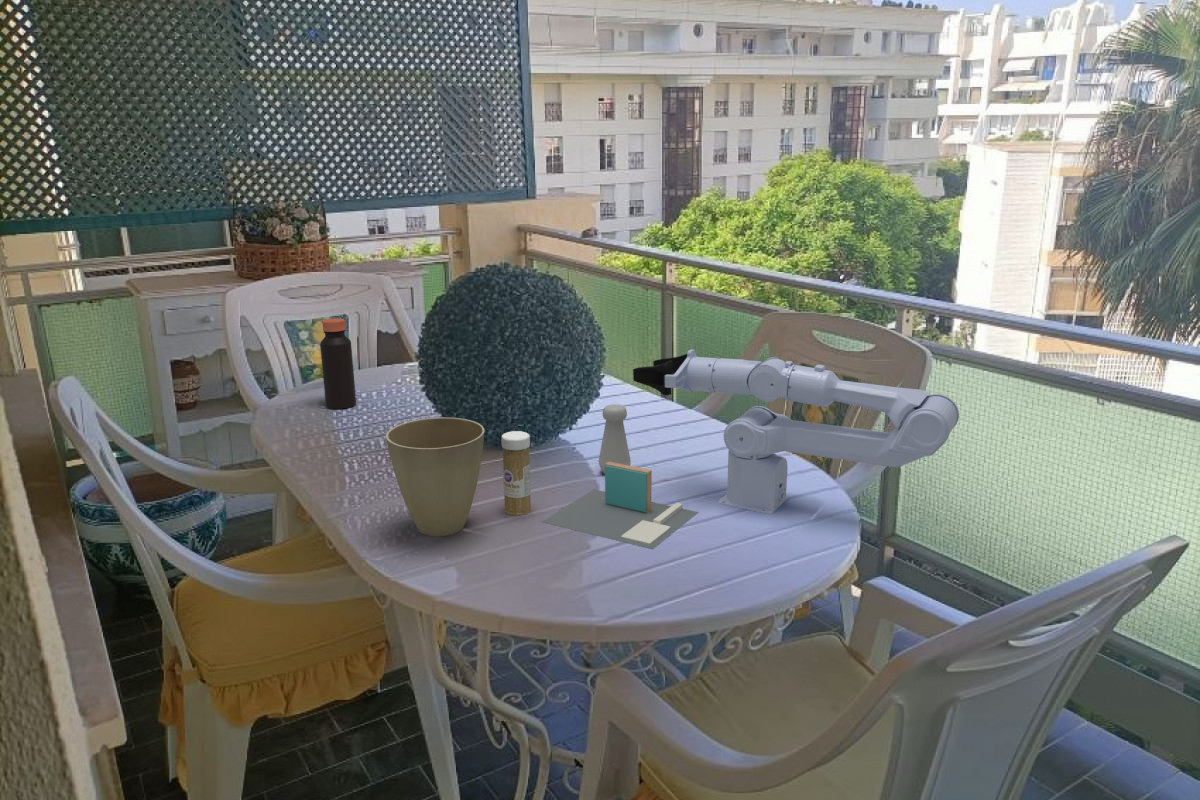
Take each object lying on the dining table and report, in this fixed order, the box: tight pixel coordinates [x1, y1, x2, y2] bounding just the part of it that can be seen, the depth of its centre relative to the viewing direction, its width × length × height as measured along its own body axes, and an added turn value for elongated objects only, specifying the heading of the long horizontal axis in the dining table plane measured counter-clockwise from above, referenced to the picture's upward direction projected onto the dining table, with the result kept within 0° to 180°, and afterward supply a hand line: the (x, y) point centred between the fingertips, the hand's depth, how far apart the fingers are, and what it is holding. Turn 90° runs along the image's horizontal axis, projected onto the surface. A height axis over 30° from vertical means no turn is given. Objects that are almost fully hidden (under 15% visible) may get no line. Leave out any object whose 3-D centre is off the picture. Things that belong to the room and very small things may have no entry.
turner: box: [621, 502, 684, 545], centre depth 144 cm, size 15×5×1 cm, turn 149°
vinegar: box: [319, 317, 357, 410], centre depth 207 cm, size 7×7×20 cm
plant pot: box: [385, 417, 485, 537], centre depth 142 cm, size 15×15×16 cm
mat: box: [541, 489, 699, 550], centre depth 147 cm, size 20×16×1 cm
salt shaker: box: [598, 403, 632, 475], centre depth 164 cm, size 6×6×13 cm
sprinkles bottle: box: [501, 430, 532, 516], centre depth 148 cm, size 5×5×14 cm
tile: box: [604, 462, 653, 513], centre depth 149 cm, size 8×2×7 cm, turn 59°
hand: (644, 370), depth 157 cm, fingers open, 7 cm apart
